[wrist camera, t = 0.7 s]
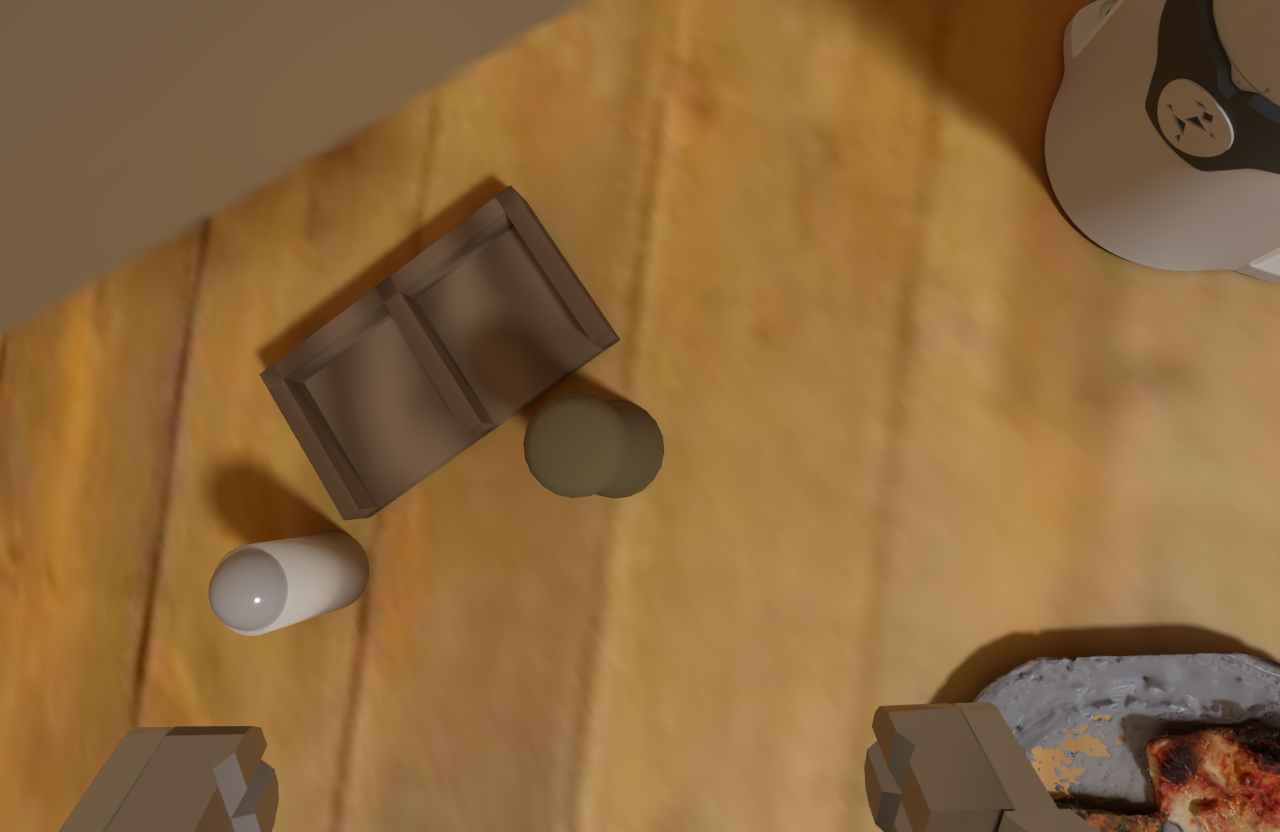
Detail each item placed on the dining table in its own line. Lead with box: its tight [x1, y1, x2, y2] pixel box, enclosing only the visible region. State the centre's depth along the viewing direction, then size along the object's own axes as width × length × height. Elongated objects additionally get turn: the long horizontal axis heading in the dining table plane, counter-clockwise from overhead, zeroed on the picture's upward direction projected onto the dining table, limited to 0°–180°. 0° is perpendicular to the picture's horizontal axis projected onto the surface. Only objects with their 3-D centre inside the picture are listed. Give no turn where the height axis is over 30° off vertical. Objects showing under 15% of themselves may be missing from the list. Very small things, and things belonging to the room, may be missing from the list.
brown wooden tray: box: [259, 185, 620, 520], centre depth 48 cm, size 20×11×3 cm, turn 124°
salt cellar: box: [209, 532, 369, 636], centre depth 45 cm, size 5×5×10 cm
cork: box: [524, 393, 664, 498], centre depth 42 cm, size 6×6×11 cm
